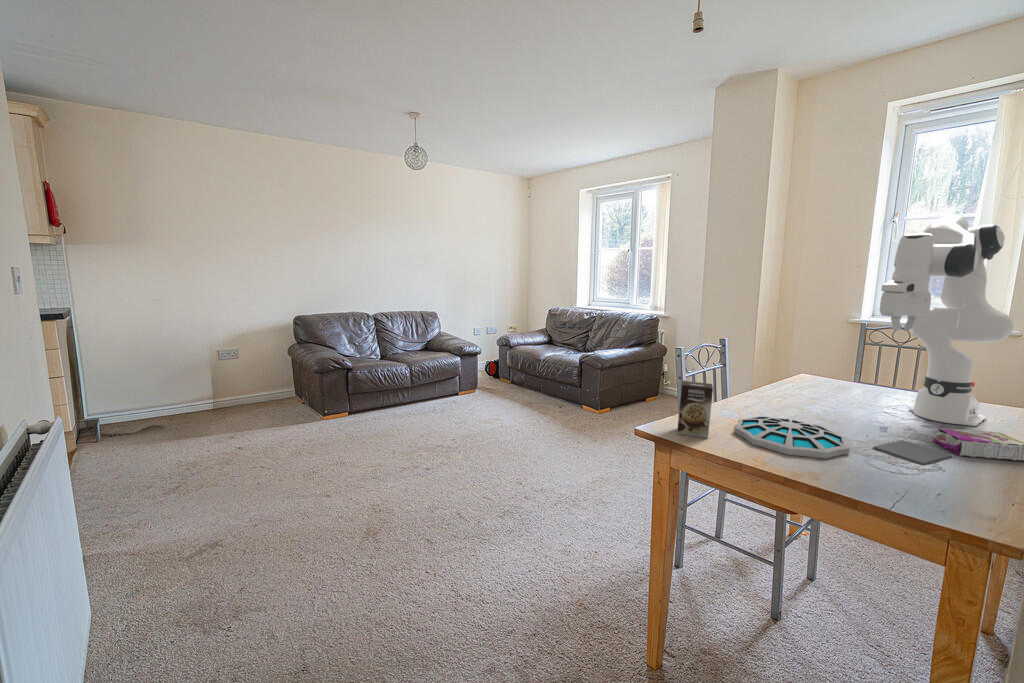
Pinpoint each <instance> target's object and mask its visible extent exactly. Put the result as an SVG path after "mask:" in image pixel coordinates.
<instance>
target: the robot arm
mask: <svg viewBox="0 0 1024 683" xmlns="http://www.w3.org/2000/svg"><path fill="white" fill-rule="evenodd" d="M1005 238H1006V237H1005V233H1004V232H1003V230H1002V228H1001V227H1000V226H999V225H997V224H982V225H980V226H973V227H970V226H969V222H968V220H967V219H965V217H963V216H961V215H957V214H949V215H945V216H943V217H940V218H938V219H936V220H934V221H933V222H932V223H930V224H929V225H928V226H927V227H926V228H925V229H924V230H923V232H914V233H907V234H904V235H902V236H901V237H900V240H899V242H898V245H897V249H896V252H895V257H894V264H893V266H894V268H895V269H894V272H893V274H892V276H891V279H890V280H889V281H887V282H886V283H885V282H884V283H883V284H882V285H881V291H882V294H881V297H880V305H879V313H880V315H881V316H884V317H890V321H891V324H892V326H891V330H893V331H901V330H902V324H901V320H902V317H906V316H907V318H906V319H907V320H906V322H905V323H904V328H903V329H904V330H909V331H910V333H912V335H914V336H915V337H917V338H918V339H919V341H920V342H922V344H923V345H924V346H925V349H926V350H927V354H928V355H927V356H928V363H927V374H926V376H924V379H923V388H921V389H918V391H917V394H916V397H915V401H914V406H911V407H909V409H908V410H909V411H911V412H912V413H914V415H915V416H918V417H921V418H924V419H927V420H931V421H935V422H940V423H945V424H953V425H963V426H964V425H965V426H971V427H976V426H979V425H980V424H981V423H983V422H984V421H986V420H985V419H987V416H985V415H982V414H979V412H978V411H979V405H980V404H979V403H980V402H979V401H978V400H977V399H976V398H975V396H974V395H973V394H972V391H973V390H972V388H975V386H976V382H975V381H971V378H972V372H973V367H974V360H973V358H972V357H971V356H970V355H968V354H967V353H965V352H963V351H962V350H959V349H957V348H955V347H954V346H952V344H951V342H952V341H953V342H954V341H957V342H969V343H977V344H978V343H980V344H982V343H983V344H984V343H986V344H987V343H988V344H989V343H1000V342H1001V343H1002V342H1003V341H1005V340H1006V339H1008V338H1009V337H1010V335H1011V334H1012V332H1013V330H1014V322H1013V320H1012V319H1011V317H1010V316H1009V315H1008V314H1007V313H1004V312H1003V311H1000V310H997V309H996V308H995V307H993V306H992V305H991V304H989V302H988V301H987V298H986V289H987V288H986V287H987V280H988V279H987V269H986V266H985V263H984V261H985V260H987V261H990V260H992V259H993V258H994V256H995V255H996V254H998V253H999V252H1000V251H1001V250H1002V248H1003V247H1004V243H1005ZM931 276H935V277H936V276H937V277H944V280H943V285H942V289H941V290H942V291H941V295H940V300H941V303H942V304H943V306H944V307H931V302H932V294H931V293H930V291H929V285H930V284H929V283H930V277H931ZM983 420H984V421H983ZM982 421H983V422H982ZM979 423H980V424H979Z"/></svg>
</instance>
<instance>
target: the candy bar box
mask: <svg viewBox="0 0 1024 683" xmlns="http://www.w3.org/2000/svg"><path fill="white" fill-rule="evenodd" d="M934 429H935V430H934V434H933V440H932V442H933V443H934V444H936V445H938V446H940V447H941V448H944V449H945V450H948V451H950V452H951V453H953V454H955V455H957V456H958V457H959V456H960V457H970V458H979V459H980V458H982V459H983V458H984V459H994V460H995V459H996V460H1005V461H1019V462H1024V442H1023V441H1021V440H1019V439H1016V438H1013V437H1011V436H1008V435H1006V434H1004V433H1001V432H999V431H983V430H971V429H969V430H968V429H955V428H942V427H935V428H934Z"/></svg>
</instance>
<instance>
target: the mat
mask: <svg viewBox="0 0 1024 683" xmlns="http://www.w3.org/2000/svg"><path fill="white" fill-rule="evenodd" d="M872 449H873V450H876V451H879V452H881V453H885V454H888V455H891V456H894V457H897V458H900V459H903V460H906V461H910V462H912V463H914V464H915V463H916V464H918V465H921V466H924V465H927V464H928V465H929V464H932V463H935V462H936V463H937V462H939V461H943V460H947V459H951V458H953V455H952V454H950V453H947V452H943V451H940V450H937V449H933V448H929V447H927V446H924V445H921V444H917V443H915V442H910V441H908V440H904V439H901V440H896V441H891V442H887V443H884V444H878V445H875V446H872Z"/></svg>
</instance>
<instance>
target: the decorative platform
mask: <svg viewBox="0 0 1024 683" xmlns="http://www.w3.org/2000/svg"><path fill="white" fill-rule="evenodd" d="M734 433H735V434H736V435H737V436H740V437H742V438H743V439H744V440H746V441H747V442H749V443H750V444H752V445H753V446H757V447H761V448H765V449H768V450H771V451H775V452H778V453H781V454H783V455H786V456H796V457H797V456H798V457H799V456H800V457H808V458H817V459H825V460H826V459H830V458H834V457H839V456H846V455H847V456H848V455H849V454H850V447H849V446H848V443H847V437H845V436H843V435H840V434H838V433H835V432H834V431H831V430H829V429H827V428H826V427H824V426H821V425H818V424H813V423H808V422H802V421H799V420H796V419H792V418H783V417H781V418H780V417H772V416H766V415H765V416H761V415H759V416H754V417H750V418H740V419H738V421H737V425H736V427H735V428H734Z"/></svg>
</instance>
